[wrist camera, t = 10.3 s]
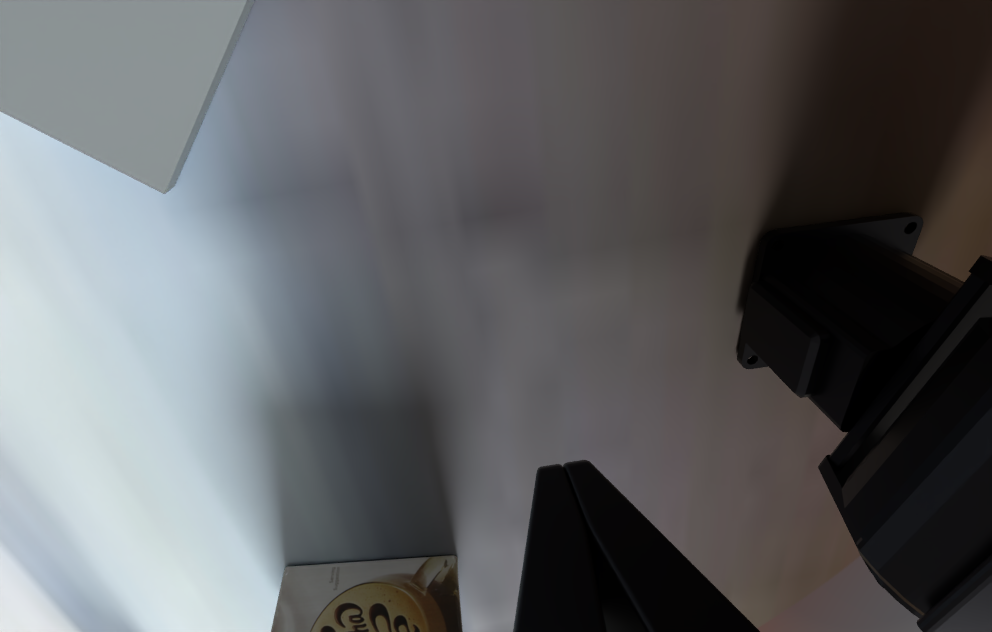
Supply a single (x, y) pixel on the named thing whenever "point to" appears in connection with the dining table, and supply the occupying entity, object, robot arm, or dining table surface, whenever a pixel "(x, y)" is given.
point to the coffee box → (371, 597)
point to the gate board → (118, 75)
